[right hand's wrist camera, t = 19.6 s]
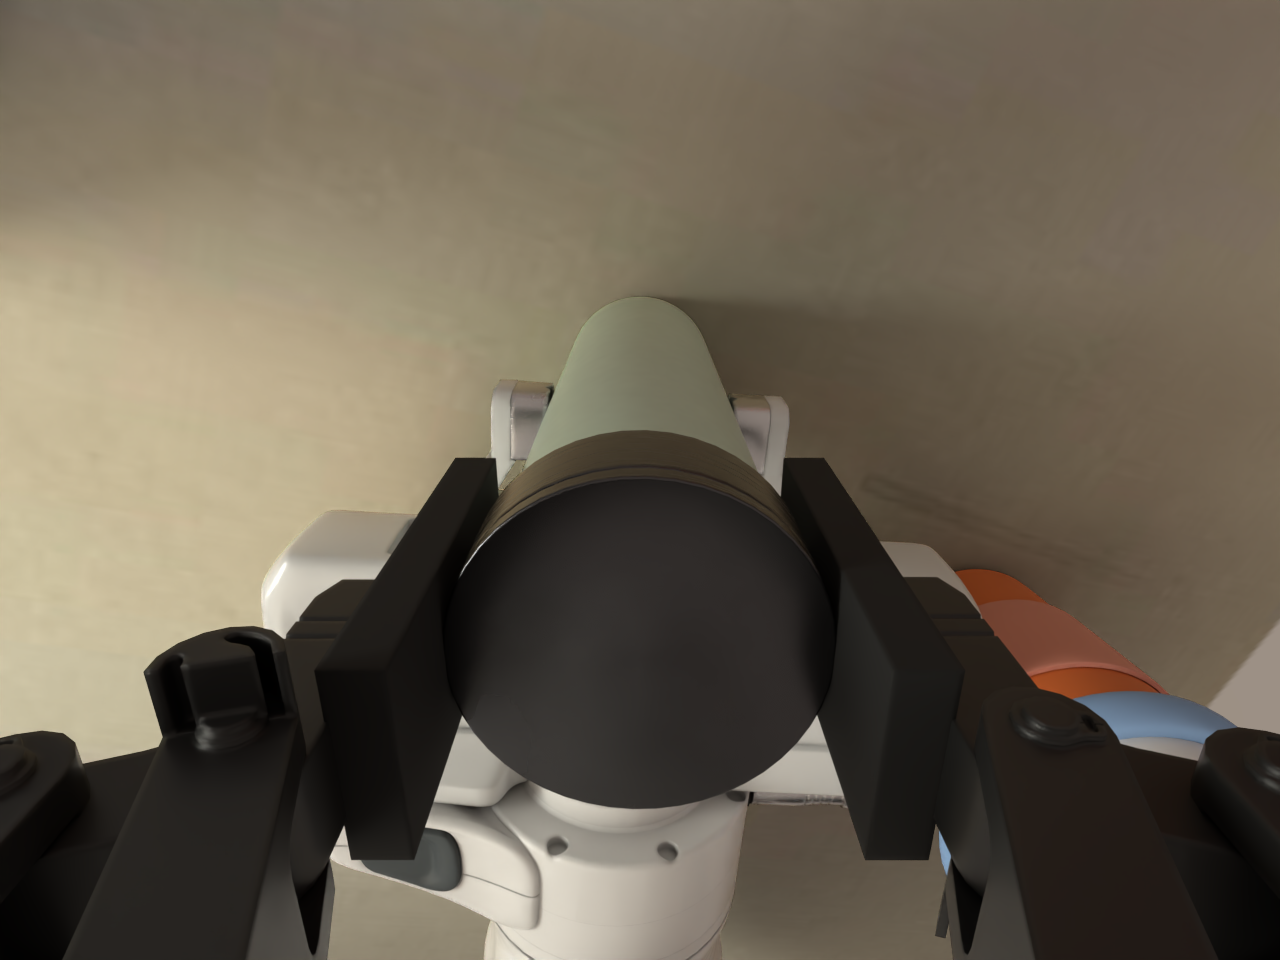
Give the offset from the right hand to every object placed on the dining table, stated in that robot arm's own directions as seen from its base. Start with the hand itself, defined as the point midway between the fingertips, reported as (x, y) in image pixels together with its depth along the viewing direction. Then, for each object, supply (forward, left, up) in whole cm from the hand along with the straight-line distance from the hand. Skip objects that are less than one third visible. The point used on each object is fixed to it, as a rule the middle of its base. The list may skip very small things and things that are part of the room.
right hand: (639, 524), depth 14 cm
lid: (0, 0, +4) cm, 4 cm away
